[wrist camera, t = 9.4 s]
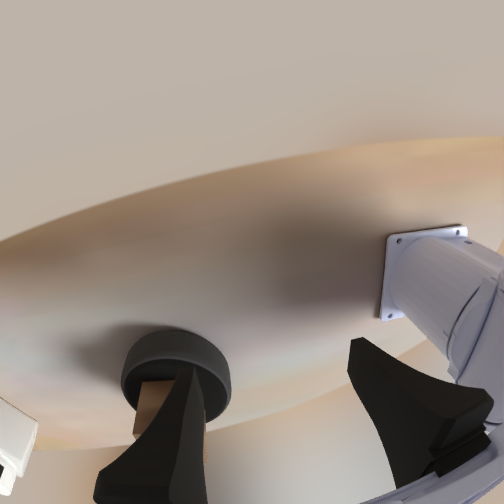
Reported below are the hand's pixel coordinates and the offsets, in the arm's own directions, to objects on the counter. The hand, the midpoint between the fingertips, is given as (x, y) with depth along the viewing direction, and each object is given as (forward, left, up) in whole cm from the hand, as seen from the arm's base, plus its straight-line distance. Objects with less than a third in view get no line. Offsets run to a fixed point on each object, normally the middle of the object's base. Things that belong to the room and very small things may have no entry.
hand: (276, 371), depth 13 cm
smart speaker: (+7, +8, -10) cm, 15 cm away
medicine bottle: (+33, +17, -10) cm, 38 cm away
